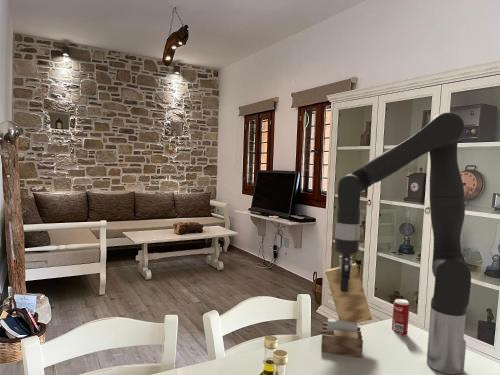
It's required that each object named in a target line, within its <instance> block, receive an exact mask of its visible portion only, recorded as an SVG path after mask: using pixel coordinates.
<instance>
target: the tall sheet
mask: <svg viewBox="0 0 500 375" xmlns="http://www.w3.org/2000/svg"><path fill="white" fill-rule="evenodd" d="M324 272H325V275H326V278H327V279H326V280H327V283H328V286H329V289H330V293H331V298H332V300H333V303H334V308H335V310H336V315H337V317H338V320H341V321H349V322H356V323H357V324H358V323H363V322H367V321H372V320H373V318H372V314H371V311H370V306H369V303H368V300H367V296H366V293H365V290H364V287H363V283H362V280H361V276H360V272H359V268H358V265H357V262H356V263H352V265H351V273H350V279H349V281H348V292H342V291H341V272H340V266H338V267H333V268H329V269H325V271H324ZM343 276H348V275H343Z"/></svg>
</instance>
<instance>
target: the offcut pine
mask: <svg viewBox="0 0 500 375" xmlns="http://www.w3.org/2000/svg"><path fill="white" fill-rule="evenodd" d="M334 336H340V337H347V338H354V339H358V334H357V333H355V332H348V331H340V330H334Z"/></svg>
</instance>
